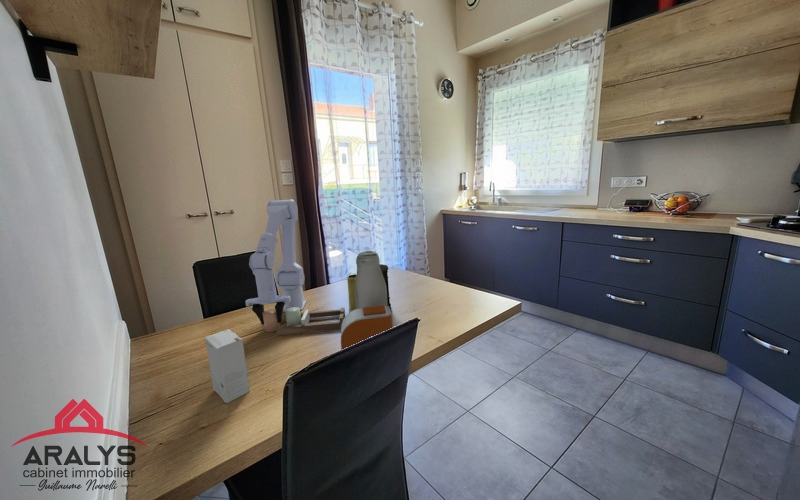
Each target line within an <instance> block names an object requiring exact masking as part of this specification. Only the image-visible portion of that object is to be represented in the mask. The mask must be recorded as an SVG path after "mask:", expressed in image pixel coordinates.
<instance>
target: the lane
mask: <svg viewBox="0 0 800 500" xmlns="http://www.w3.org/2000/svg"><path fill="white" fill-rule="evenodd" d="M345 311H346V310H345V307H341V308H339V309H330V310H329V309H328V310H319V311H318V310H317V311H309V315H310V318H317V317H328V316H338V315H340V317H339V318H338V319H339V321H338V320H337V321H328V322H320V323H318V322H317V323H316V322H315V323H309V324H305V325H295V326H287V325H286V326H280V327H277V331H276V333H277V334H276V335H277V336H287V335H295V334H306V333H317V332H325V331H327V332H328V331H336V330H337V331H338V330H341V325H342V322H343V319H344V318H345V316H346V312H345ZM300 313H301V319H302V317H303V314H304V312H300ZM283 317H284V322H285V323H287V322H286V315H285V314H284V316H283Z"/></svg>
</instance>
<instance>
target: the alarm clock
mask: <svg viewBox="0 0 800 500" xmlns="http://www.w3.org/2000/svg"><path fill="white" fill-rule="evenodd" d="M392 315H393V314H392V309H391V310H390V307H389V306H387V305H380V306H371V307H363V308H358V309H354V310H353V311H351V312H348V313H347V314H345V318H344V319H343V322H342V325H341V328H340V350H342V349H344V348H346V347H349V346H351V345H353V344H356V343H358V342H360V341H362V340H365V339H367V338H369V337H371V336H374V335H376V334H379V333H381V332H383V331H386V330H388V329H390V328H393V316H392Z"/></svg>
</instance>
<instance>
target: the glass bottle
mask: <svg viewBox="0 0 800 500" xmlns="http://www.w3.org/2000/svg"><path fill="white" fill-rule="evenodd" d="M380 263H381V261H380V257H379V254H378V252H376V251H374V250H364V251H362V252H359V253H358V254H357V256H356V258H355V264H356V273H355V274H356V280H355V288H354V290H355V300H356V308H357V309H358V308H363V307H371V306H380V305H387V288H386V283H385V280H384V277H383V275H382V272H381V268H380Z"/></svg>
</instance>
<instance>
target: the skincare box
mask: <svg viewBox="0 0 800 500" xmlns="http://www.w3.org/2000/svg"><path fill="white" fill-rule="evenodd" d="M204 339H205V345H206V353H207V358H208V363H209V364H208V365H209V369H210V376H211V382H212V388H213V391H214V392H216V393H217V394H218V395H219V397H220V398H221V399H222V400H223V402H224V403H225V404H228V403H230V402H232V401H234V400H235V399H238V398H240V397H242V396H243V395H244V396H245V394H247V393H249V392H250V385H249V375H248V371H247V364H246V363H247V362H246V356H245V349H244V343H243V338H241V337H239V336H238V335H237V333H236V332H233V331H232V330H230V329H229V328H228V329H225V330H221V331H218V332H216V333H214V334H209V335H207V336H204Z"/></svg>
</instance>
